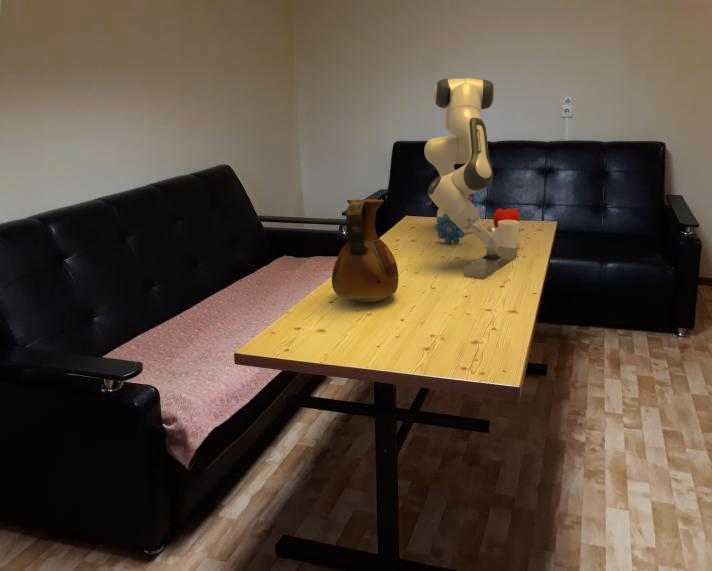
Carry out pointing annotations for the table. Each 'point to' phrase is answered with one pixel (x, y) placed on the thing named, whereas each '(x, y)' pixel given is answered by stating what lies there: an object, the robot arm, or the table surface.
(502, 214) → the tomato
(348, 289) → the ceramic pitcher
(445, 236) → the grapes
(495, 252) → the pin
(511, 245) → the white cup
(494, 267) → the grey slab
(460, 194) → the robot arm
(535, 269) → the table surface
